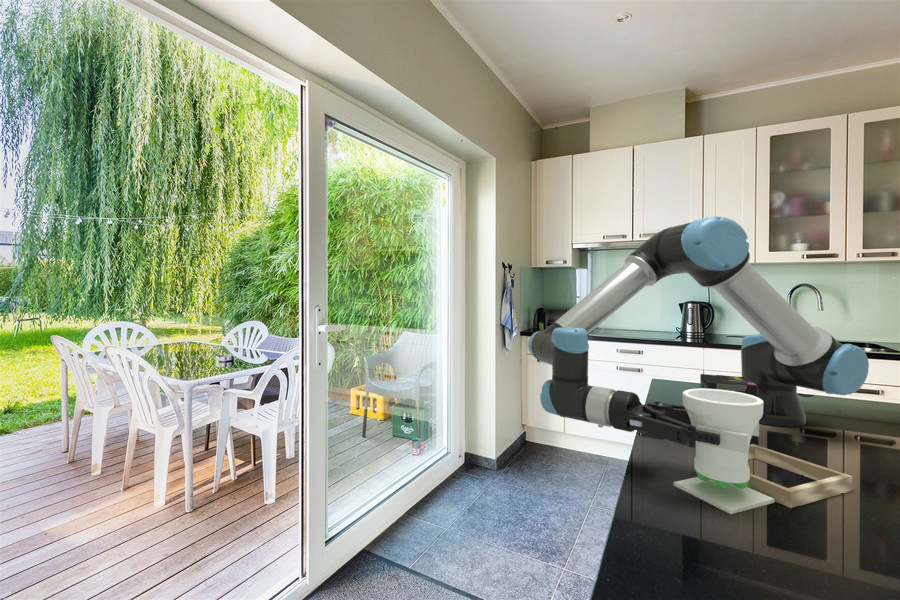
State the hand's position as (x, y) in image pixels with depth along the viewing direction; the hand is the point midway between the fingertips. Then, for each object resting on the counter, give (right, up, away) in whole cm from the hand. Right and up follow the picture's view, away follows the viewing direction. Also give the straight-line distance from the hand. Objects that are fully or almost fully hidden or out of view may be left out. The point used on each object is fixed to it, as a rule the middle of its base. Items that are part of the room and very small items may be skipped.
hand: (753, 435), depth 64 cm
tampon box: (+14, -11, +27) cm, 32 cm away
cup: (-3, -9, +3) cm, 10 cm away
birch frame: (+9, -11, +9) cm, 17 cm away
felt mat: (-3, -11, +3) cm, 12 cm away
